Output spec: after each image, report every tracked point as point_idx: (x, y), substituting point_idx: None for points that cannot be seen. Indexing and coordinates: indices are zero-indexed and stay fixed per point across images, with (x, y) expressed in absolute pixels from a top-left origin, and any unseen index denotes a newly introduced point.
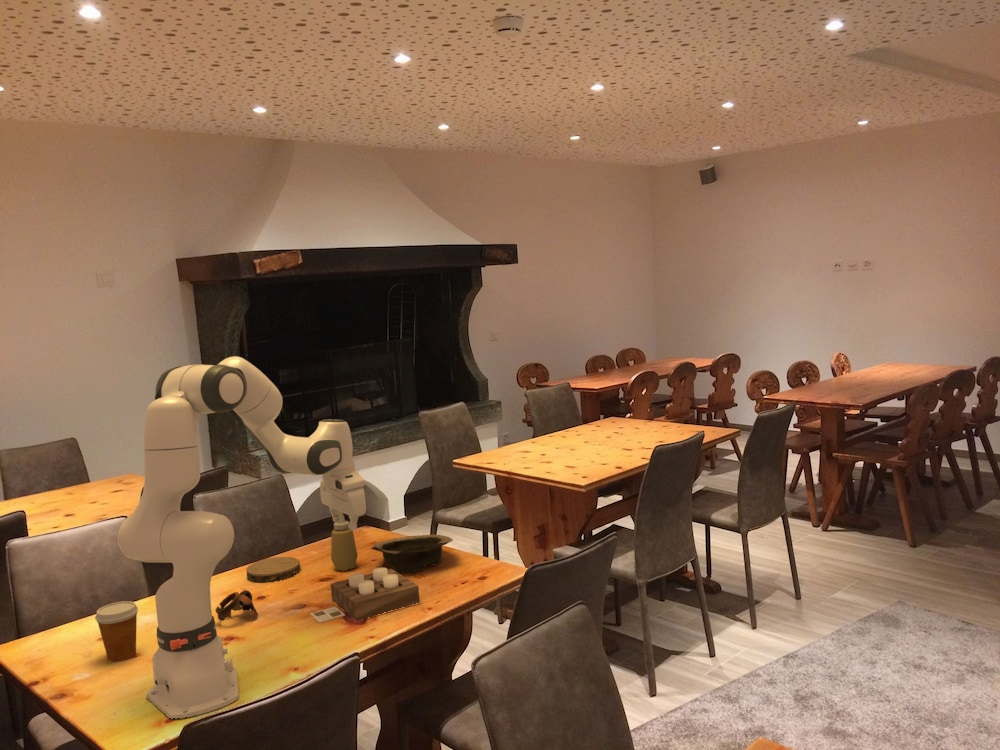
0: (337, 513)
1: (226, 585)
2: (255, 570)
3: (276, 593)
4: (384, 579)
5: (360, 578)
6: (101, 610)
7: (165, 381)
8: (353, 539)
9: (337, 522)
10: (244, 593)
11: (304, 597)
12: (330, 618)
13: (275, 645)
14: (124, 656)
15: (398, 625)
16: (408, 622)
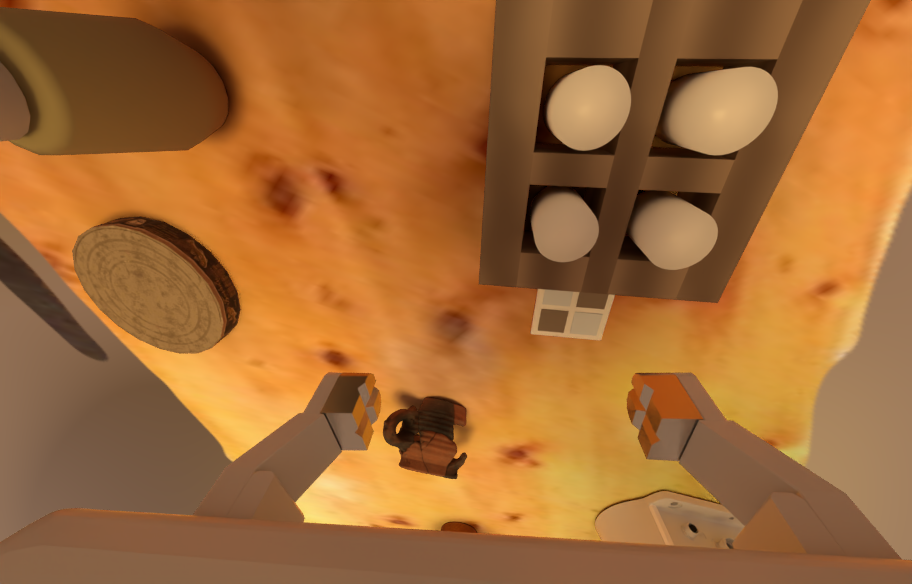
0: (312, 435)
1: (219, 376)
2: (181, 339)
3: (328, 330)
4: (722, 153)
5: (598, 227)
6: None
7: None
8: (76, 31)
9: (379, 392)
10: (403, 443)
11: (399, 296)
12: (608, 315)
13: (624, 427)
14: None
15: (861, 193)
16: (886, 152)
